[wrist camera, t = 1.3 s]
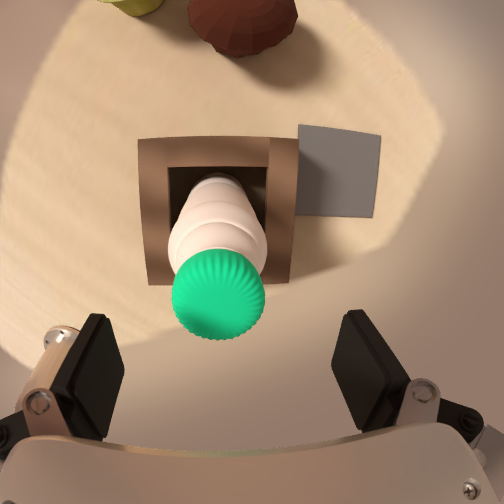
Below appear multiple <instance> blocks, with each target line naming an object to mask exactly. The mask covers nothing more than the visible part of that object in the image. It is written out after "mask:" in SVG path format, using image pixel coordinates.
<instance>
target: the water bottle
mask: <svg viewBox="0 0 504 504" xmlns="http://www.w3.org/2000/svg"><path fill="white" fill-rule="evenodd" d="M168 256H169V261H170V264H171V267H172V269H173V271H174V273H175V275H176V276H175V278H174V282H173V288H172V304H173V310H174V311H175V314H176V317H177V318H179V322H180V323H181V324H183V325H184V327H185V328H186V329H188V330H189V332H190V333H194V334H195V335H196V336H201V337H202V338H208V339H210V340H212V339H215V340H217V341H218V340H220V339H222V340H226V339H233V338H234V337H236V336H237V337H238V336H240V334H243V333H245V332H246V331H247V330H249V329H251V328H252V326H253V325H255V324H256V322H257V320H259V318H260V317H261V314H262V313H263V309H264V305H265V291H264V287H263V283H262V280H261V278H260V273H261V272H262V270H263V267H264V265H265V262H266V257H267V241H266V237H265V234H264V231H263V229H262V227H261V225H260V223H259V222H258V220H257V217H256V215H255V212H254V210H253V208H252V206H251V204H250V203H249V201H248V198H247V195H246V194H245V191H244V189H243V187H242V185H241V184H240V182H239V181H238V180H237V179H235V178H234V177H233V176H231V175H228V174H226V173H219V172H217V173H210V174H207V175H205V176H203V177H202V178H200V179H199V180H198V181H197V182H196V183H195V185H194V186H193V188H192V190H191V192H190V194H189V196H188V199H187V201H186V203H185V205H184V207H183V209H182V211H181V213H180V215H179V218H178V221H177V222H176V224H175V225H174V227H173V229H172V231H171V234H170V238H169V243H168Z"/></svg>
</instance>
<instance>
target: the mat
mask: <svg viewBox="0 0 504 504" xmlns="http://www.w3.org/2000/svg"><path fill="white" fill-rule="evenodd" d="M380 137H381V136H379V135H374V134H368V133H362V132H356V131H350V130H343V129H335V128H327V127H319V126H310V125H298V139H299V157H298V174H297V189H296V203H295V215H316V216H350V217H372V214H373V207H374V199H375V191H376V183H377V173H378V163H379V151H380Z"/></svg>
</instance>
